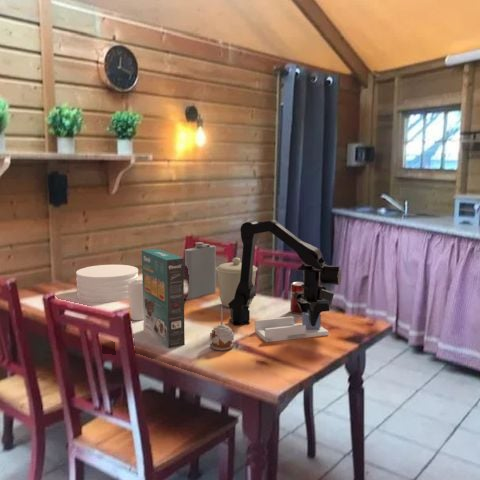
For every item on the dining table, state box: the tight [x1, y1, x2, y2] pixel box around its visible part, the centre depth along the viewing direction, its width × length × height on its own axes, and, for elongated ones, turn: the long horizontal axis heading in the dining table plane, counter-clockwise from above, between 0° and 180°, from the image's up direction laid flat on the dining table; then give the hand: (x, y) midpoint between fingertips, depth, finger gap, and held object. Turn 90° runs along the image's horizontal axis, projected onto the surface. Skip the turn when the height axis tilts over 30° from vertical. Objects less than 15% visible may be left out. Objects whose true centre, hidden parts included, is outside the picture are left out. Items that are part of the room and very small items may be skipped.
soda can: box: [290, 281, 303, 315], centre depth 213 cm, size 7×7×12 cm
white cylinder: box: [128, 279, 144, 322], centre depth 202 cm, size 7×7×15 cm
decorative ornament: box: [209, 303, 235, 351], centre depth 172 cm, size 8×8×15 cm
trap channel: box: [254, 316, 329, 343], centre depth 187 cm, size 24×11×4 cm, turn 108°
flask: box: [184, 241, 217, 300], centre depth 237 cm, size 17×5×25 cm, turn 137°
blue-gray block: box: [301, 312, 322, 329], centre depth 189 cm, size 5×5×5 cm
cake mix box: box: [141, 248, 186, 349], centre depth 180 cm, size 22×6×30 cm, turn 32°
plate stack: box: [75, 264, 139, 303], centre depth 240 cm, size 28×28×12 cm
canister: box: [215, 257, 258, 309], centre depth 221 cm, size 18×18×21 cm
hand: (310, 323), depth 189 cm, fingers closed on blue-gray block, 5 cm apart
